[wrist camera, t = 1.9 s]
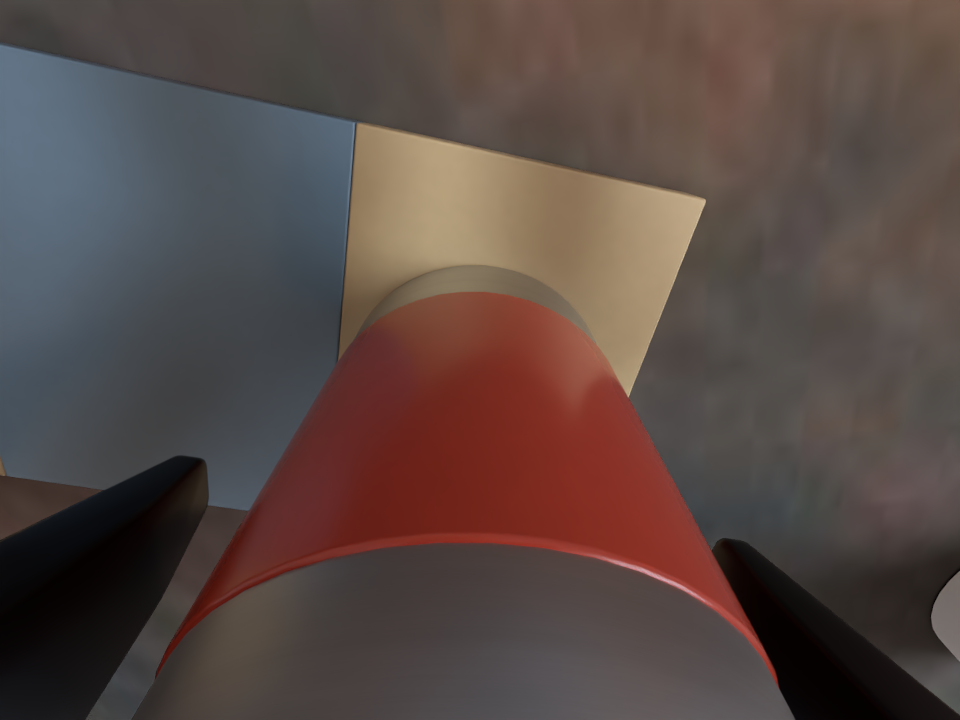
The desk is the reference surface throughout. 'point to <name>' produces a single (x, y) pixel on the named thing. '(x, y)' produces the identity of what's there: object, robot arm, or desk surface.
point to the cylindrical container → (948, 616)
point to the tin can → (468, 541)
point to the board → (258, 262)
